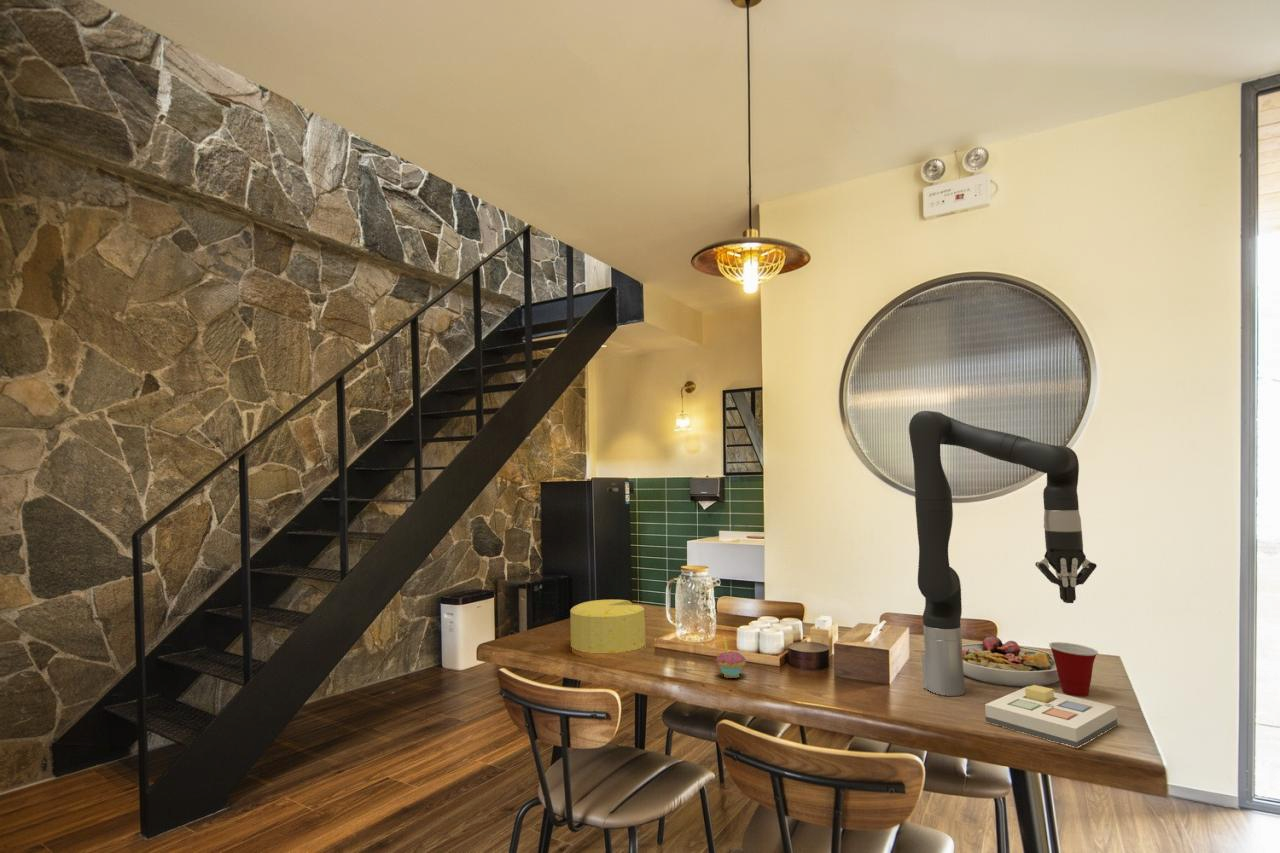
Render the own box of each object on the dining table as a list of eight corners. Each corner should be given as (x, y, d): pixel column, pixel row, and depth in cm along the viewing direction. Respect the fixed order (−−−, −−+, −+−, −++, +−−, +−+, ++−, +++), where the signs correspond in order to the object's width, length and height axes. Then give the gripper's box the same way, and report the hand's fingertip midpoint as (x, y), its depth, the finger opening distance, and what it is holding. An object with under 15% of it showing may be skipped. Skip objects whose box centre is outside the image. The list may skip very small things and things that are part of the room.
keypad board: (986, 722, 152) (984, 704, 153) (1029, 703, 164) (1028, 686, 165) (1077, 749, 137) (1075, 728, 137) (1117, 725, 149) (1115, 706, 149)
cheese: (656, 642, 235) (655, 600, 236) (627, 662, 211) (626, 614, 212) (591, 637, 245) (590, 596, 246) (556, 655, 221) (556, 610, 222)
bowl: (1087, 692, 172) (1085, 662, 172) (964, 688, 178) (962, 658, 178) (1042, 661, 201) (1040, 635, 202) (938, 658, 207) (936, 632, 208)
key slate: (1060, 716, 150) (1060, 705, 150) (1069, 711, 153) (1068, 701, 153) (1082, 721, 147) (1081, 710, 147) (1090, 717, 149) (1089, 706, 149)
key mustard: (1025, 698, 157) (1025, 688, 157) (1034, 694, 159) (1033, 684, 159) (1045, 703, 153) (1044, 693, 153) (1054, 699, 156) (1053, 689, 156)
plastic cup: (1107, 702, 164) (1103, 653, 165) (1057, 697, 168) (1053, 650, 169) (1095, 688, 174) (1091, 642, 175) (1048, 685, 178) (1045, 640, 179)
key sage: (1011, 714, 152) (1010, 703, 152) (1020, 710, 155) (1019, 699, 155) (1030, 720, 149) (1030, 709, 149) (1040, 715, 151) (1039, 704, 151)
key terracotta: (1045, 723, 146) (1044, 712, 146) (1054, 719, 149) (1053, 708, 149) (1067, 729, 142) (1066, 718, 143) (1076, 725, 145) (1075, 713, 145)
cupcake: (714, 679, 190) (712, 637, 191) (720, 671, 198) (718, 630, 199) (743, 682, 187) (742, 639, 188) (748, 673, 195) (747, 632, 196)
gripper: (1039, 530, 154) (1044, 605, 152) (1101, 529, 151) (1107, 605, 150) (1026, 528, 161) (1031, 599, 160) (1085, 527, 159) (1091, 599, 157)
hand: (1068, 602), depth 155 cm, fingers closed
